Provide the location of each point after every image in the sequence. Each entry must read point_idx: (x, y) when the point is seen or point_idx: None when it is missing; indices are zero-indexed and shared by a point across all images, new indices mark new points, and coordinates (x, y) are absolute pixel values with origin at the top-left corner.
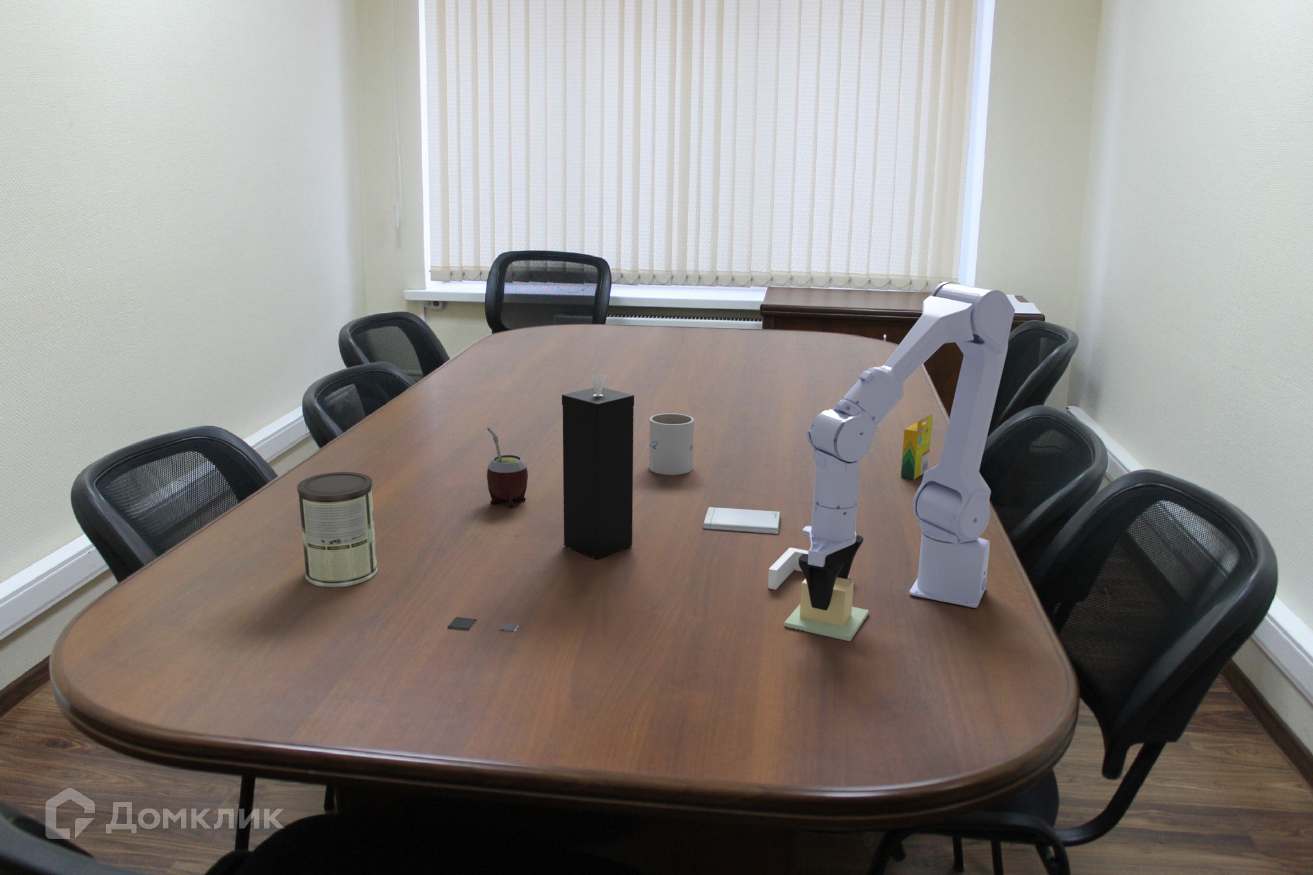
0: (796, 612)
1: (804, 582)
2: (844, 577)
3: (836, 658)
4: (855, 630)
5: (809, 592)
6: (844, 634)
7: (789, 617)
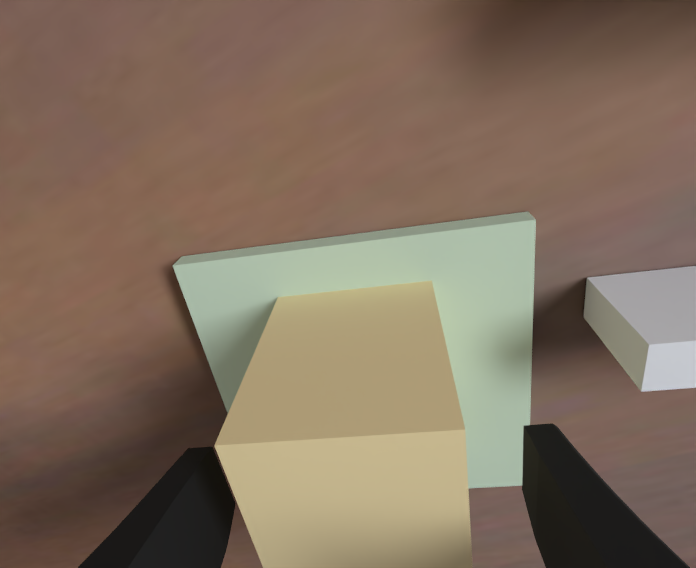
0: (312, 264)
1: (233, 458)
2: (546, 563)
3: (127, 485)
4: None
5: (115, 529)
6: None
7: (236, 261)
